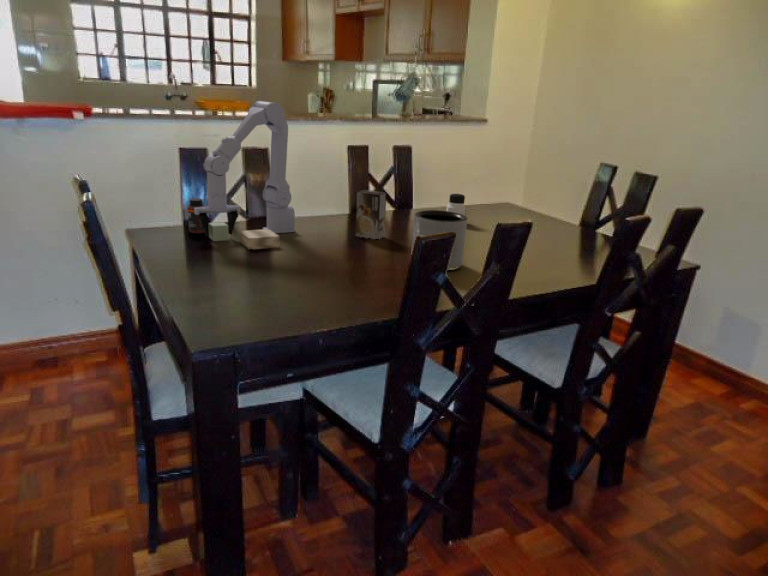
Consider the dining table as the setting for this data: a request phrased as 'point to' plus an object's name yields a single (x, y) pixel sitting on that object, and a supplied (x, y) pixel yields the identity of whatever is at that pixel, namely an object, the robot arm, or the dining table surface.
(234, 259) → the dining table surface
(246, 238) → the birch base
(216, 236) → the sage cube
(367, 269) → the dining table surface
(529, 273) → the dining table surface
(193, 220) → the supplement bottle
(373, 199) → the coffee box
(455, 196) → the medicine bottle
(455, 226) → the planter
